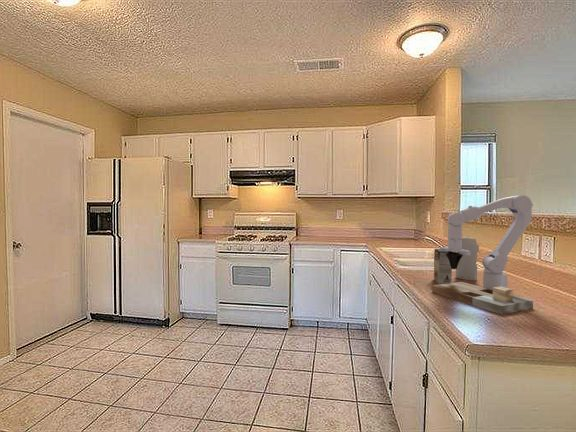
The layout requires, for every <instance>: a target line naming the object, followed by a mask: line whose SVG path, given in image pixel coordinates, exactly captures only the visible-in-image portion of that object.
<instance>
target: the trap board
mask: <svg viewBox="0 0 576 432" xmlns="http://www.w3.org/2000/svg"><path fill="white" fill-rule="evenodd" d="M431 292H432V293H434V294H437V295H440V296H442V297H446V298H449V299H453V300H456V301H459V302H462V303H464V304H469V305H471V306H474V307H477V308H480V309H482V310H487V311H489V312H492V313H496V314H499V315H506V314H512V313H517V312H522V311H526V310H532V309H534V300H533V299H530V298H525V297H523V296H518V295H513V299H512V300H509V301H502V300H498V299H495V298H493V290H491V289H487V288H483V286H480V285H479V286H478V285H475V284H471V283H467V282H464V281H457V282H451V283H447V284H433V285H432V288H431Z"/></svg>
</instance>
